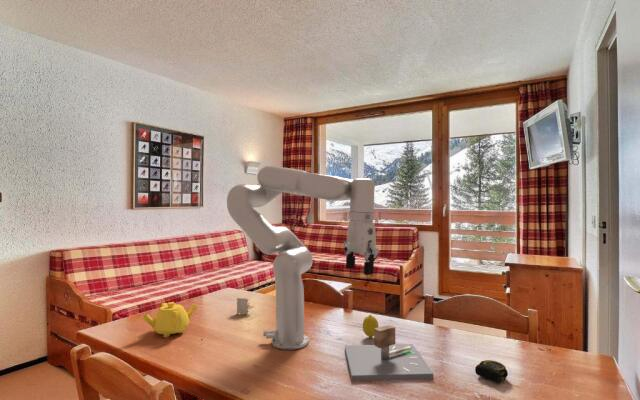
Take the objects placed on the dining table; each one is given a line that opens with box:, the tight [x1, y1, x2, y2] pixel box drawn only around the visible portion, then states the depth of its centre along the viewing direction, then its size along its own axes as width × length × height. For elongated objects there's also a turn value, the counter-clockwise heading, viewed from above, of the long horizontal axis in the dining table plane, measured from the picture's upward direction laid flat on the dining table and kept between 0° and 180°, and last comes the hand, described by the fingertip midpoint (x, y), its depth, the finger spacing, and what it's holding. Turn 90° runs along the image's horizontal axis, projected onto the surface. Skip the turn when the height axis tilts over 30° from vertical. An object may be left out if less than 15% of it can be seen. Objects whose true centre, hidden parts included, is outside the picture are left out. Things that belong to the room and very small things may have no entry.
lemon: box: [362, 314, 380, 339], centre depth 126 cm, size 6×6×8 cm
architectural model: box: [236, 297, 255, 316], centre depth 155 cm, size 3×7×7 cm, turn 65°
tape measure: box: [474, 359, 509, 385], centre depth 97 cm, size 7×7×4 cm
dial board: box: [344, 343, 435, 382], centre depth 106 cm, size 22×20×2 cm
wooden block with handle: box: [373, 324, 411, 359], centre depth 108 cm, size 13×2×9 cm, turn 120°
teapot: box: [141, 301, 198, 338], centre depth 133 cm, size 20×18×11 cm
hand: (359, 271), depth 114 cm, fingers open, 9 cm apart
